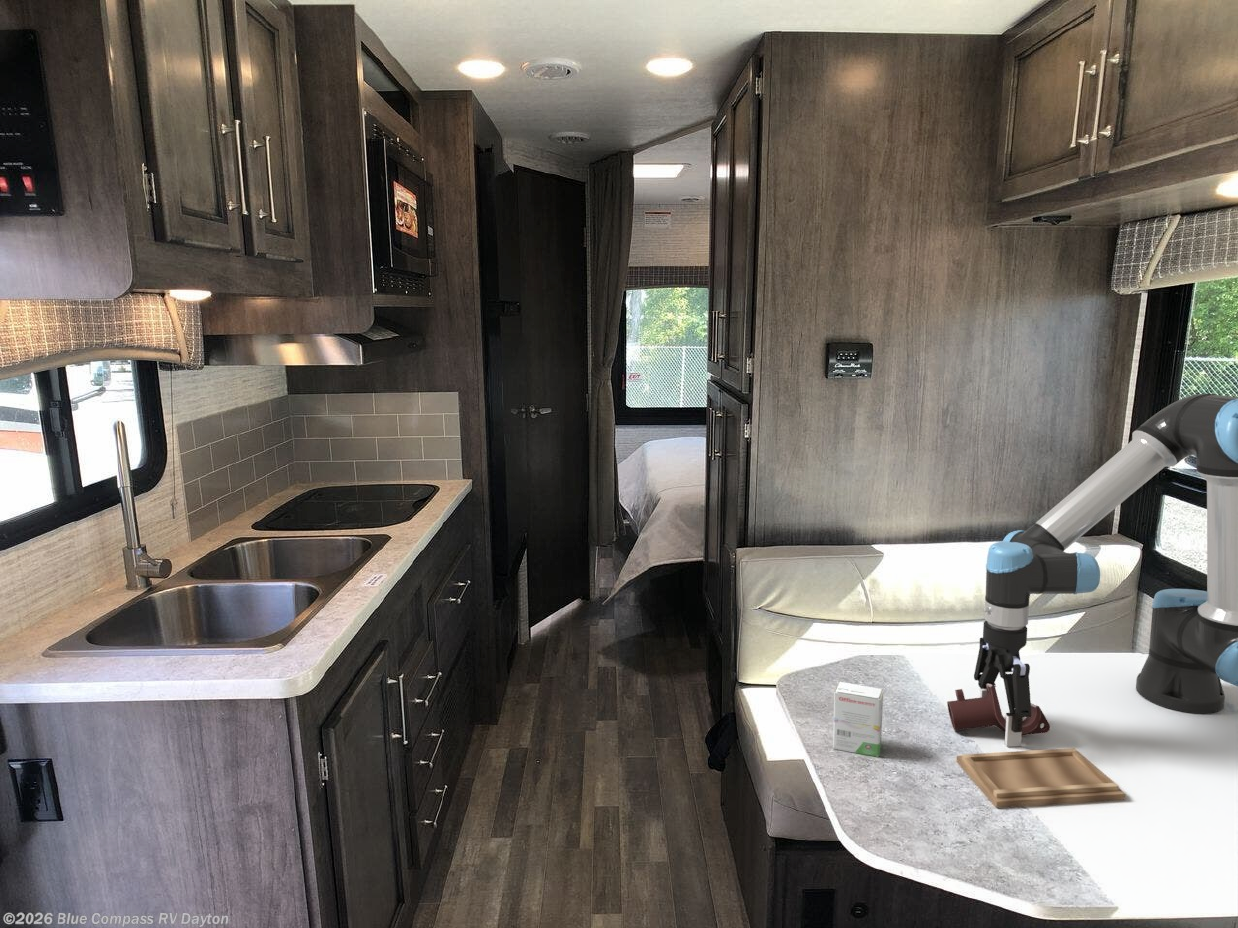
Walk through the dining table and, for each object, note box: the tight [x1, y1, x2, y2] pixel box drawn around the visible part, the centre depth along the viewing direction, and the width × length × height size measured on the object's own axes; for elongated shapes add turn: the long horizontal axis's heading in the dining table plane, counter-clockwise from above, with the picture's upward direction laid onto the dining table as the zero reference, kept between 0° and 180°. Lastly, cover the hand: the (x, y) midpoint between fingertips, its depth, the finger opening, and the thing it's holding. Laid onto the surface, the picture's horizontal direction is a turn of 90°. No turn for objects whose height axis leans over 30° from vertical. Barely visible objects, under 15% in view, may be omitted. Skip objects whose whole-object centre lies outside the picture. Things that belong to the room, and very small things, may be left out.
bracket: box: [946, 683, 1051, 737], centre depth 152 cm, size 6×17×10 cm, turn 78°
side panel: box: [956, 747, 1126, 809], centre depth 136 cm, size 22×14×2 cm, turn 93°
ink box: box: [832, 681, 884, 758], centre depth 148 cm, size 9×5×12 cm, turn 65°
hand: (998, 731), depth 152 cm, fingers open, 9 cm apart
